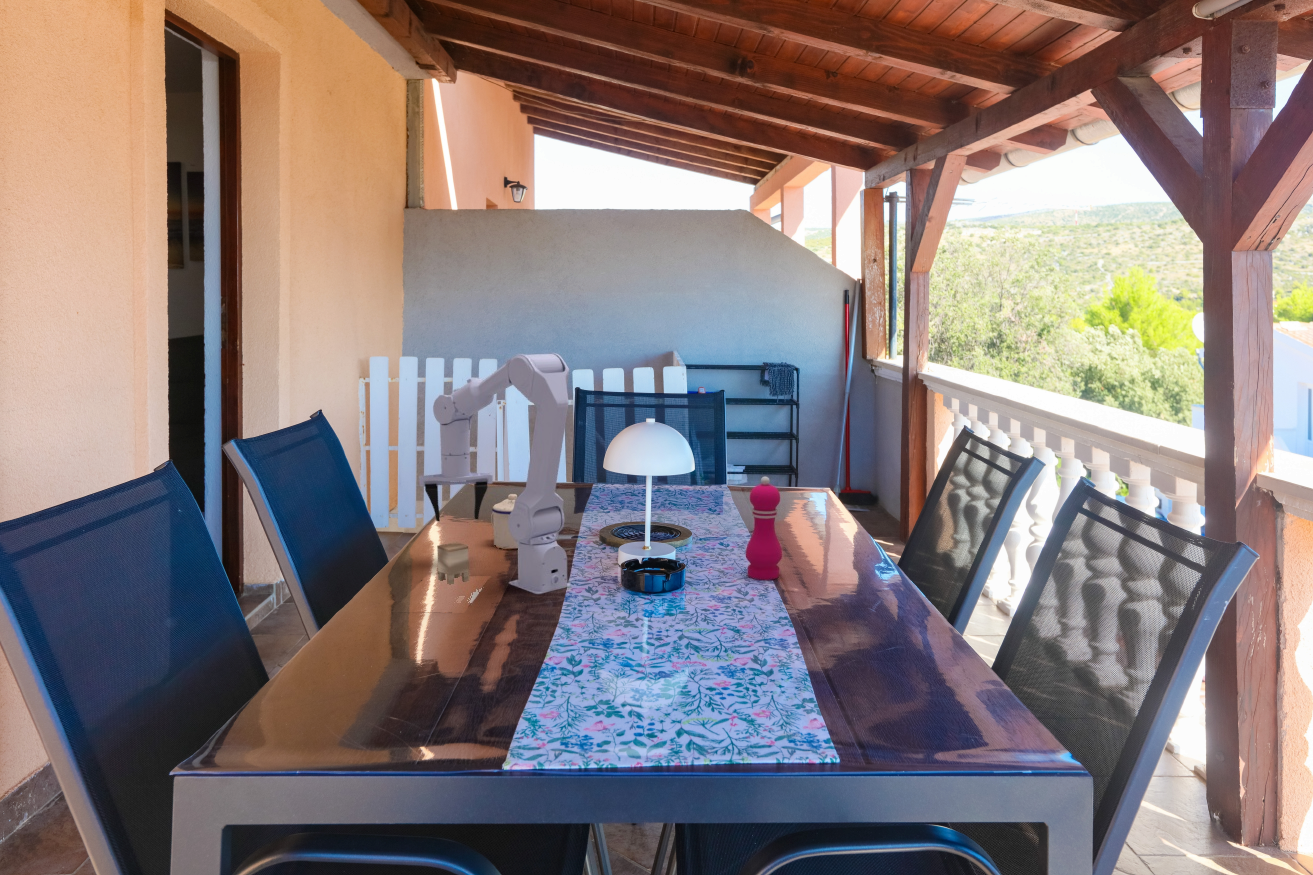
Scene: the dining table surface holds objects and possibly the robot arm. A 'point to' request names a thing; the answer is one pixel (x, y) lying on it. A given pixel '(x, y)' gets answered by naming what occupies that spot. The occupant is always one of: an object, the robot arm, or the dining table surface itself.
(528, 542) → the robot arm
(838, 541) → the dining table surface
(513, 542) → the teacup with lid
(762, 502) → the pepper mill
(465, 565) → the beige notched block
